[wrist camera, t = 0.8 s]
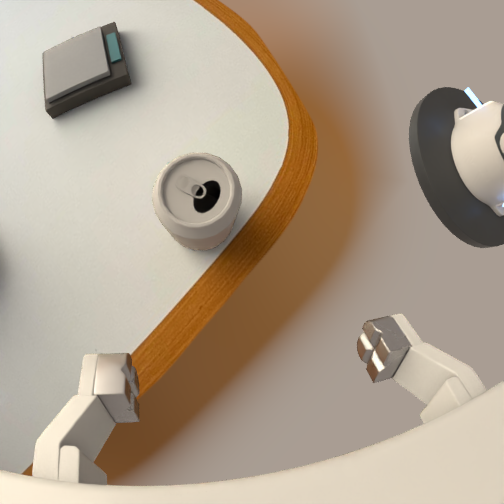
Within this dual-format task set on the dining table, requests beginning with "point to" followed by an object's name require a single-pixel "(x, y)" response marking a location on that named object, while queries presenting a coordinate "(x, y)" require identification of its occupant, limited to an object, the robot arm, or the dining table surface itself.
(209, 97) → the dining table surface
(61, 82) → the scale
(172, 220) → the can
